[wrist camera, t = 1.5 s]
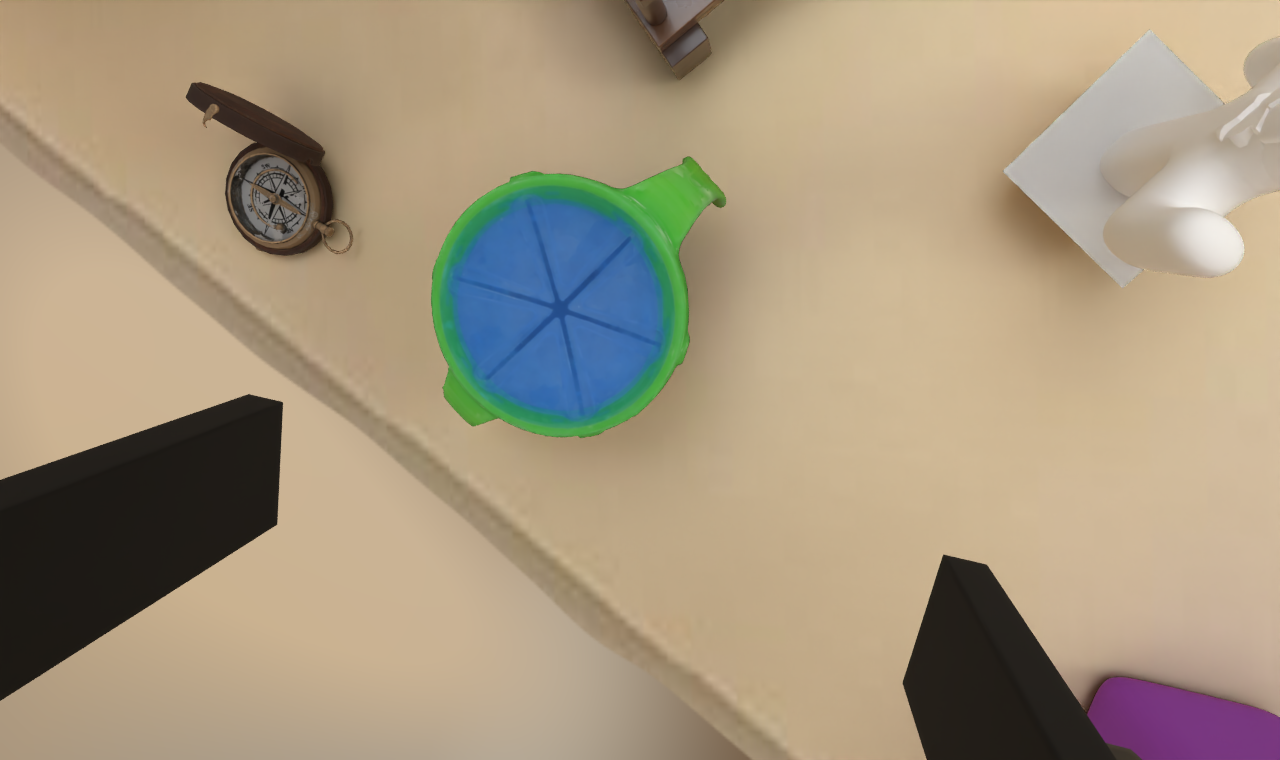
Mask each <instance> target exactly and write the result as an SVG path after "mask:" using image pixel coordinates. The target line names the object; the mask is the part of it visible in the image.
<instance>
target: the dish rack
mask: <svg viewBox="0 0 1280 760" xmlns="http://www.w3.org/2000/svg"><path fill="white" fill-rule="evenodd" d="M624 1H625V2H626V4H627V5H628V7H629V8H630V10H631V11H632V13H633V14H634V16H635V17H636V19H637V20H638V21H639V23H640V24H641V26H642V27H643V29H644V30H645V32H646V33H647V35H648V36H649V38H650V39H651V40H652V42H653V43H654V45H655V46H656V48H657V49H658V51H659V52H660V54H661V55H662V57H663V58H664V60H665V61H666V62H667V64H668V65H669V67H670V68H671V70H672V71H673V73H674V74H675V76H676V77H677V79H678V80H680V79H682V78H683V77H684V76H685V75H687V74H688V73H689V72H690V71H691V70H693V69H694V68H695V67H696V66H698V65H699V64H700V63H701V62H703V61H704V60H705V59H706V58H707V57H709V56H710V55H711V54H712V52H711V48H710V44H709V41H708V37H707V36H706V34H705V33H704V31H703V30H702V28H701V27H700V25H699V24H698V22H699V21H700V20H701V19H702V18H704V17H705V16H706V15H707V14H708V13H710V12H711V11H712V10H713V9H715V8H716V7H717V6H718V5H719V4H721V3H722V2H723V1H724V0H624Z"/></svg>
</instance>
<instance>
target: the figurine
mask: <svg viewBox="0 0 1280 760" xmlns="http://www.w3.org/2000/svg"><path fill="white" fill-rule="evenodd" d="M1243 70H1244V75H1245V77H1246V80H1247V81H1248V83H1249V84H1250V86H1251V87H1252V88H1251V89H1250V90H1249V91H1248V92H1247V93H1245V94H1244V95H1242V96H1240V97H1238V98H1236V99H1234V100H1233V101H1231V102H1229V103H1226V104H1224V103H1223V102H1222V101H1221V100H1220V99H1219V98H1218V97H1217V96H1216V95H1215V94H1214V93H1213V92H1212V91H1211V90H1210V89H1209V88H1208V87H1207V86H1206V85H1205V84H1204V83H1203V82H1202V81H1201V80H1200V79H1199V78H1198V77H1197V76H1196V75H1195V74H1194V73H1193V72H1192V71H1191V70H1190V69H1189V68H1188V67H1187V66H1186V65H1185V64H1184V63H1183V62H1182V61H1181V60H1180V59H1179V58H1178V57H1177V56H1176V55H1175V54H1174V53H1173V52H1172V51H1171V50H1170V49H1169V48H1168V47H1167V46H1166V45H1165V44H1164V43H1163V42H1162V41H1161V40H1160V39H1159V38H1158V37H1157V36H1156V35H1155V34H1154V33H1153V32H1152V31H1151V30H1150V29H1149V30H1148V31H1147V32H1146V33H1145V34H1144V35H1143V36H1142V37H1141V38H1140V39H1139V40H1138V41H1137V42H1136V43H1135V44H1134V45H1133V46H1132V47H1131V48H1130V49H1129V50H1128V51H1127V52H1126V53H1124V54H1123V55H1122V56H1121V57H1120V58H1119V59H1118V60H1117V61H1116V62H1115V63H1114V64H1113V65H1112V66H1111V67H1110V68H1109V69H1108V70H1107V71H1106V72H1105V73H1104V74H1103V75H1102V76H1101V77H1100V78H1099V79H1098V80H1097V81H1095V82H1094V83H1093V84H1092V85H1091V86H1090V87H1089V88H1088V89H1087V90H1086V91H1085V92H1084V93H1083V94H1082V95H1081V96H1080V97H1079V98H1078V99H1077V100H1076V101H1075V102H1074V103H1073V104H1072V105H1071V106H1070V107H1069V108H1068V109H1066V110H1065V111H1064V112H1063V113H1062V114H1061V115H1060V116H1059V117H1058V118H1057V119H1056V120H1055V121H1054V122H1053V123H1052V124H1051V125H1050V126H1049V127H1048V128H1047V129H1046V130H1045V131H1044V132H1043V133H1042V134H1041V135H1040V136H1038V137H1037V138H1036V139H1035V140H1034V141H1033V142H1032V143H1031V144H1030V145H1029V146H1028V147H1027V148H1026V149H1025V150H1024V151H1023V152H1022V153H1021V154H1020V155H1019V156H1018V157H1017V158H1016V159H1015V160H1014V161H1013V162H1012V163H1011V164H1009V165H1008V166H1007V167H1006V168H1005V169H1004V170H1003V172H1004V173H1005V174H1006V175H1007V176H1008V177H1009V178H1010V179H1011V180H1012V181H1013V182H1014V183H1015V184H1016V185H1017V186H1018V187H1019V188H1020V189H1021V190H1022V191H1023V192H1024V193H1025V194H1026V195H1027V196H1028V197H1029V198H1030V199H1031V200H1032V201H1033V202H1034V203H1036V204H1037V205H1038V206H1039V207H1040V208H1041V209H1042V210H1043V211H1044V212H1045V213H1046V214H1047V215H1048V216H1049V217H1050V218H1051V219H1052V220H1053V221H1054V222H1055V223H1056V224H1057V225H1058V226H1059V227H1060V228H1061V229H1062V230H1063V231H1064V232H1065V233H1066V234H1067V235H1068V236H1069V237H1070V238H1071V239H1072V240H1073V241H1075V242H1076V243H1077V244H1078V245H1079V246H1080V247H1081V248H1082V249H1083V250H1084V251H1085V252H1086V253H1087V254H1088V255H1089V256H1090V257H1091V258H1092V259H1093V260H1094V261H1095V262H1096V263H1097V264H1098V265H1099V266H1100V267H1101V268H1102V269H1103V270H1104V271H1105V272H1106V273H1107V274H1108V275H1109V276H1110V277H1111V278H1112V279H1114V280H1115V281H1116V282H1117V283H1118V284H1119V285H1120V286H1121V287H1122V288H1124V287H1125V286H1126V285H1127V284H1128V283H1129V282H1131V281H1132V280H1133V279H1134V278H1135V277H1136V276H1138V275H1139V274H1140V273H1141V272H1142V271H1143V270H1149V271H1155V272H1162V273H1169V274H1177V275H1185V276H1192V277H1201V278H1212V277H1218V276H1222V275H1225V274H1227V273H1229V272H1231V271H1232V270H1234V269H1235V268H1236V267H1237V266H1238V265H1239V263H1240V262H1241V260H1242V258H1243V255H1244V243H1243V240H1242V237H1241V235H1240V234H1239V232H1238V231H1237V229H1236V228H1235V227H1234V226H1233V225H1232V224H1231V223H1230V222H1229V221H1228V220H1227V219H1225V218H1224V217H1225V216H1226V215H1227V214H1228V213H1230V212H1231V211H1232V210H1234V209H1235V208H1236V207H1238V206H1240V205H1241V204H1243V203H1245V202H1247V201H1249V200H1251V199H1254V198H1256V197H1259V196H1261V195H1264V194H1268V193H1272V192H1276V191H1280V36H1279V37H1276V38H1273V39H1270V40H1268V41H1265V42H1263V43H1261V44H1259V45H1258V46H1256V47H1255V48H1254V49H1253V50H1252V51H1251V52H1250V53H1249V54H1248V56H1247V57H1246V59H1245V62H1244V69H1243Z"/></svg>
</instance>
